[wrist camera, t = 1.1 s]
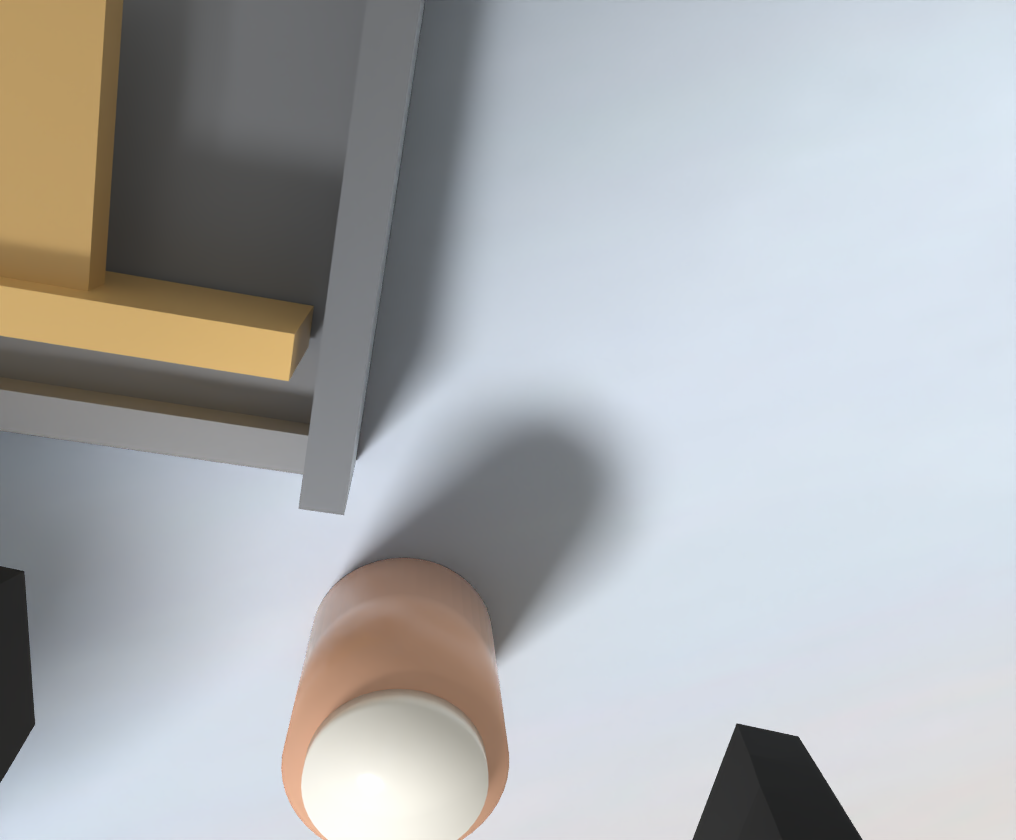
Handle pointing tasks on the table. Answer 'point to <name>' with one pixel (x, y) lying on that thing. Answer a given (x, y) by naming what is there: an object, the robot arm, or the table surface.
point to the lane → (243, 228)
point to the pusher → (100, 213)
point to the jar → (397, 709)
